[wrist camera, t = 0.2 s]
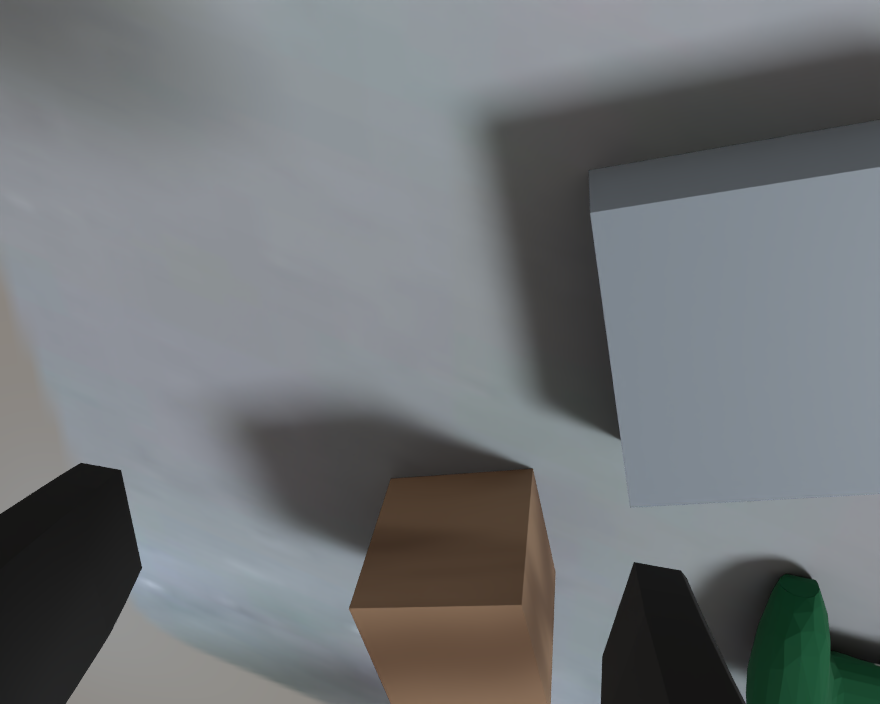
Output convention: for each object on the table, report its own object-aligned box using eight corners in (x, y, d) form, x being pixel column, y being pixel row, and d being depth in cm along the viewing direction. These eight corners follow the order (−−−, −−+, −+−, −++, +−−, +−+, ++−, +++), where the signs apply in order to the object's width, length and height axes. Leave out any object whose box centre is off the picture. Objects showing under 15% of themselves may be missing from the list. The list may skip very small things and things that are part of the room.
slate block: (940, 408, 19) (995, 487, 16) (623, 433, 21) (630, 507, 18) (983, 95, 15) (1065, 137, 12) (588, 164, 17) (590, 212, 14)
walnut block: (555, 571, 24) (550, 714, 20) (425, 575, 25) (394, 711, 21) (532, 467, 22) (521, 605, 17) (391, 477, 23) (348, 608, 19)
